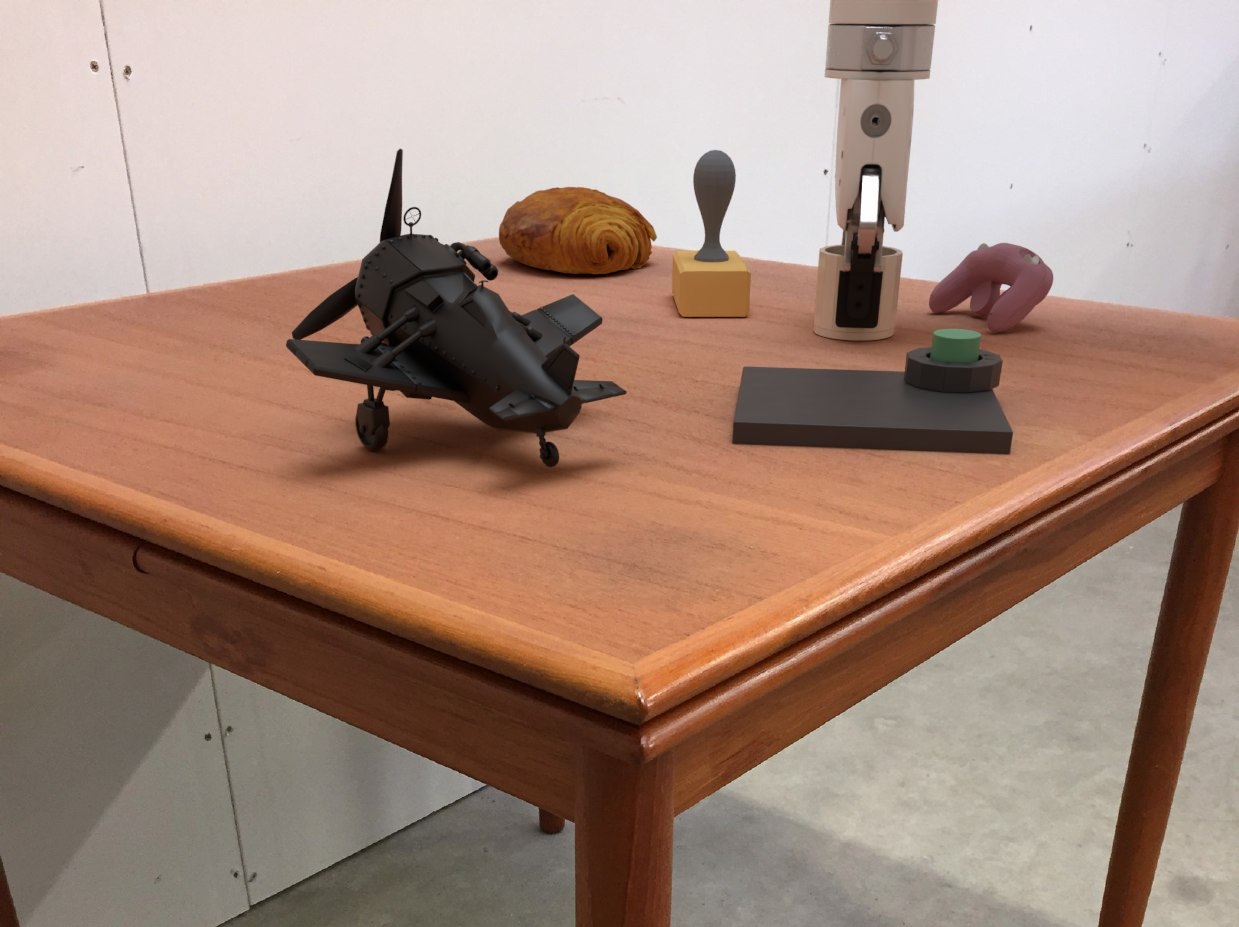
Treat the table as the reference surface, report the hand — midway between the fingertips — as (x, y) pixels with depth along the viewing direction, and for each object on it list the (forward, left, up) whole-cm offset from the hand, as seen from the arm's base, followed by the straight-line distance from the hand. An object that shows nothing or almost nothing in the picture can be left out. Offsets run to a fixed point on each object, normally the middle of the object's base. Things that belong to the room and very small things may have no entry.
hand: (854, 315), depth 105 cm
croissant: (+26, -28, -1) cm, 38 cm away
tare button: (-5, +21, +1) cm, 22 cm away
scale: (0, +26, -1) cm, 26 cm away
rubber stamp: (+12, -9, -1) cm, 15 cm away
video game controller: (-11, -6, -1) cm, 13 cm away
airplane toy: (+23, +35, -1) cm, 42 cm away
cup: (0, 0, -1) cm, 1 cm away
